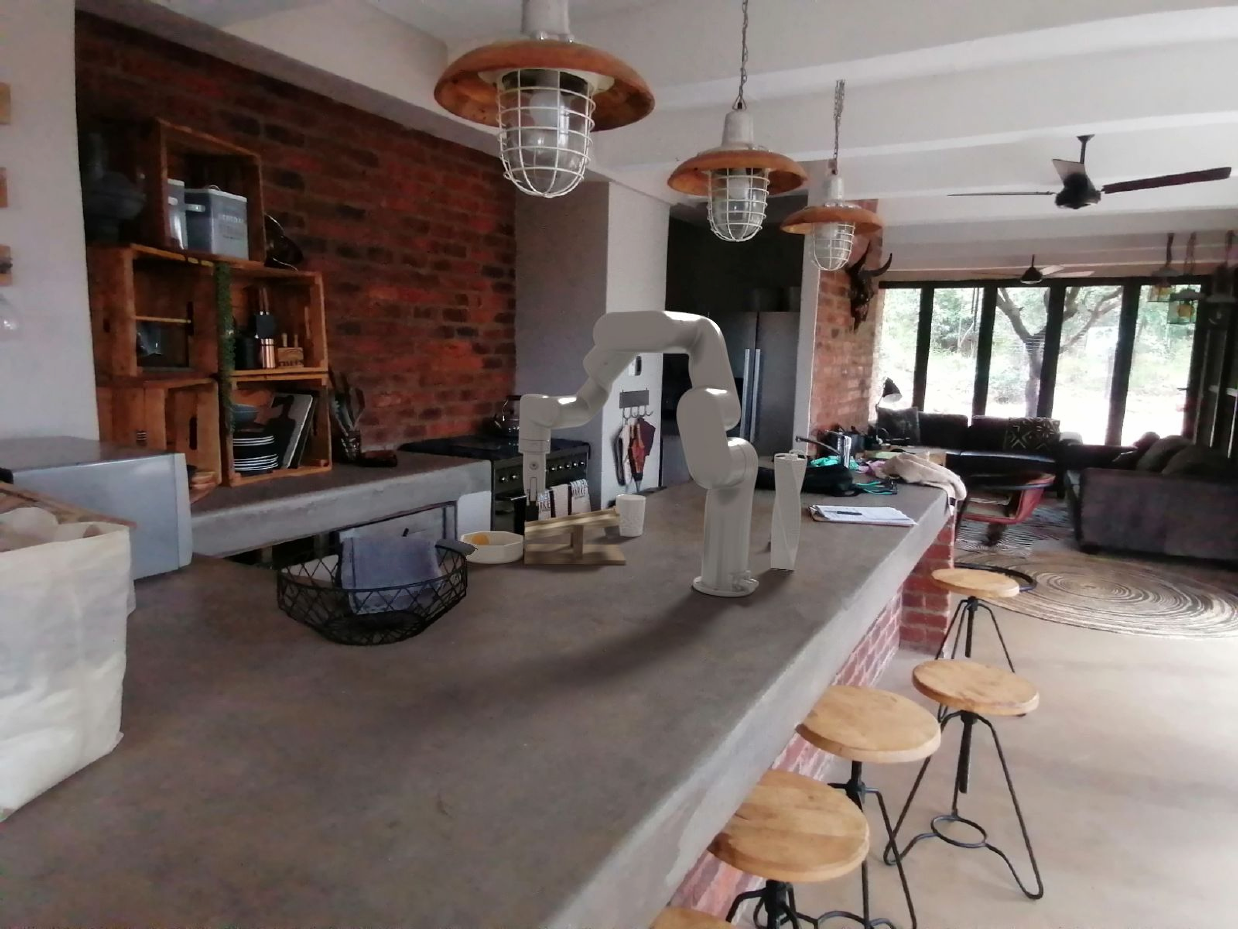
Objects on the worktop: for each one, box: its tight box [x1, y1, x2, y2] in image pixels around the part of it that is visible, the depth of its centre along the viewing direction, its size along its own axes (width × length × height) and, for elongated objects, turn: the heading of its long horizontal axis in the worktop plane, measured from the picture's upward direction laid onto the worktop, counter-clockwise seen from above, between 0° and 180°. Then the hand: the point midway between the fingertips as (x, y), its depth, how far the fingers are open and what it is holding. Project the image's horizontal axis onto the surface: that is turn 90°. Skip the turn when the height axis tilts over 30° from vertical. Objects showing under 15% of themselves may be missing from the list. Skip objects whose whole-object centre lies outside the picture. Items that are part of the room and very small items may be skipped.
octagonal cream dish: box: [459, 530, 524, 565], centre depth 183 cm, size 14×14×4 cm
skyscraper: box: [770, 448, 808, 571], centre depth 182 cm, size 8×7×28 cm
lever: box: [523, 505, 622, 541], centre depth 188 cm, size 22×16×6 cm
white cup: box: [615, 493, 647, 538], centre depth 210 cm, size 8×8×10 cm
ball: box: [471, 534, 489, 545], centre depth 183 cm, size 4×4×4 cm
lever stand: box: [523, 511, 627, 566], centre depth 185 cm, size 23×14×9 cm, turn 97°
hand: (531, 521), depth 192 cm, fingers closed
